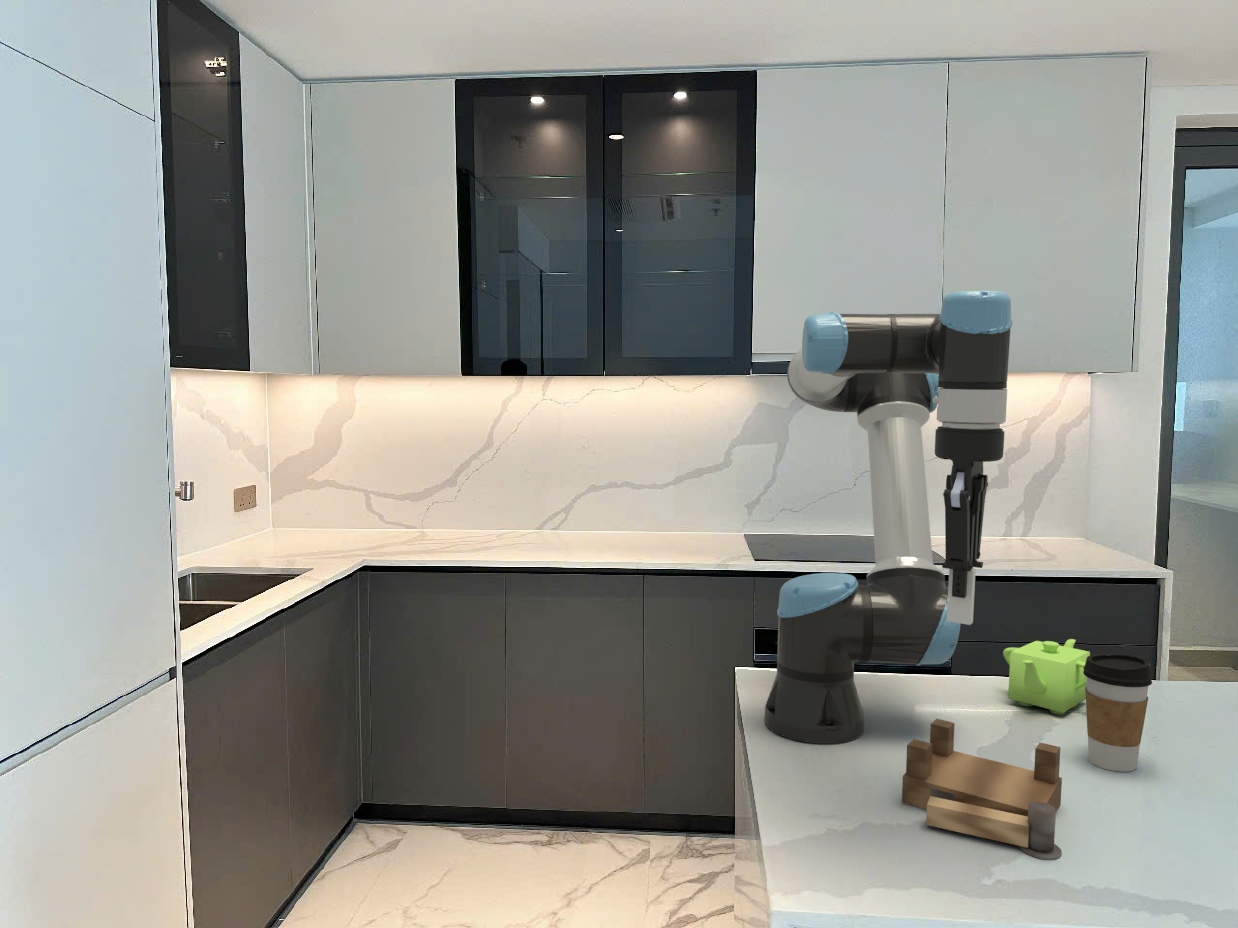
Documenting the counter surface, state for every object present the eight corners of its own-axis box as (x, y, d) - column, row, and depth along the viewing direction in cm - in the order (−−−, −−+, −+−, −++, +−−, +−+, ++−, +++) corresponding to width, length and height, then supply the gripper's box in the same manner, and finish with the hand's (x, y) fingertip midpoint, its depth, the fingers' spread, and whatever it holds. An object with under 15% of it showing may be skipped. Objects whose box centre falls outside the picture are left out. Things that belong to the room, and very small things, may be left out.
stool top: (890, 813, 109) (892, 754, 108) (932, 770, 121) (934, 717, 121) (1056, 863, 97) (1060, 798, 97) (1084, 810, 110) (1087, 752, 109)
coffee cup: (1157, 778, 119) (1163, 670, 118) (1089, 772, 121) (1095, 665, 120) (1134, 753, 128) (1140, 652, 126) (1070, 748, 129) (1076, 648, 128)
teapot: (1070, 691, 154) (1074, 631, 154) (1115, 719, 141) (1119, 654, 140) (984, 691, 154) (987, 631, 153) (1021, 719, 141) (1025, 654, 140)
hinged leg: (1054, 842, 101) (1056, 804, 101) (1053, 853, 99) (1055, 815, 98) (929, 815, 107) (931, 779, 107) (926, 825, 105) (927, 788, 105)
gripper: (949, 421, 111) (940, 604, 114) (923, 427, 100) (913, 629, 103) (1013, 423, 107) (1002, 613, 110) (993, 430, 96) (982, 641, 99)
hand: (959, 621), depth 106 cm, fingers closed
